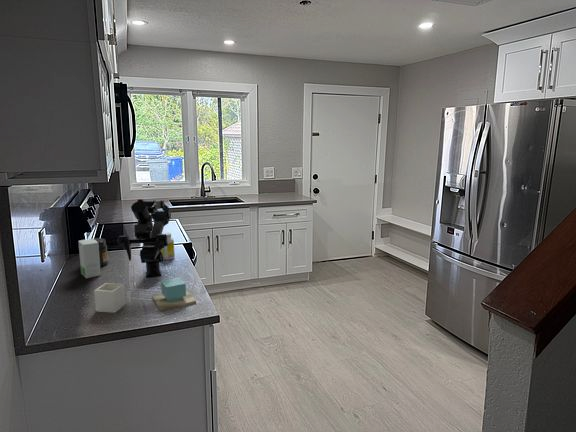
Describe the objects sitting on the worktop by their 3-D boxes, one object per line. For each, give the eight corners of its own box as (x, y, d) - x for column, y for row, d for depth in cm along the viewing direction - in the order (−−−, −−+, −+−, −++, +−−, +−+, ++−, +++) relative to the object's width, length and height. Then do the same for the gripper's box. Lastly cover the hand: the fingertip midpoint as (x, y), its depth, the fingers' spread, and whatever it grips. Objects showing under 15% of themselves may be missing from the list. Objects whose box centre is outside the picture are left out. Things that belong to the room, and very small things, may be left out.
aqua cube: (162, 296, 148) (160, 281, 147) (180, 293, 152) (179, 277, 151) (167, 303, 142) (166, 287, 141) (186, 299, 146) (185, 283, 145)
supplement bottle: (176, 256, 201) (174, 232, 198) (172, 260, 194) (171, 235, 191) (163, 256, 200) (161, 232, 198) (159, 260, 194) (157, 235, 191)
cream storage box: (107, 302, 145) (105, 282, 144) (125, 303, 145) (124, 283, 143) (96, 311, 138) (94, 290, 137) (115, 312, 138) (113, 291, 136)
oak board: (152, 298, 150) (152, 295, 149) (185, 291, 156) (185, 289, 156) (161, 311, 139) (160, 308, 139) (196, 303, 145) (196, 300, 145)
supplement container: (112, 261, 192) (110, 237, 190) (102, 268, 182) (99, 243, 180) (91, 260, 193) (88, 237, 190) (80, 268, 182) (77, 243, 180)
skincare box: (81, 273, 175) (77, 240, 172) (96, 270, 179) (93, 237, 176) (86, 278, 169) (82, 244, 166) (102, 275, 173) (98, 241, 170)
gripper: (116, 216, 152) (112, 251, 144) (165, 214, 156) (164, 248, 148) (122, 230, 161) (118, 264, 153) (168, 229, 165) (167, 261, 157)
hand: (142, 259), depth 152 cm, fingers open, 9 cm apart
